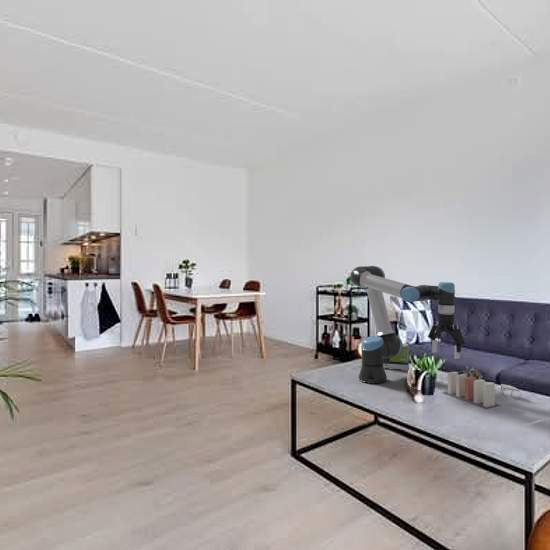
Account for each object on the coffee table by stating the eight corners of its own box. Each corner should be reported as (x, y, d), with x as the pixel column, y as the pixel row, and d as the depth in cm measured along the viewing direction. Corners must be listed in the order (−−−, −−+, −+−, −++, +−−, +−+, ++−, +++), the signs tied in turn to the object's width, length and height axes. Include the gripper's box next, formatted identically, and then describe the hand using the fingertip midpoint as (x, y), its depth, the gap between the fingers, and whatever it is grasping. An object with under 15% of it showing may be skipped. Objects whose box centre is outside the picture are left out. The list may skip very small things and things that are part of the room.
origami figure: (492, 396, 193) (492, 385, 193) (502, 392, 198) (502, 382, 197) (518, 403, 183) (518, 392, 183) (528, 399, 187) (528, 389, 187)
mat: (441, 393, 198) (441, 392, 198) (456, 390, 202) (456, 389, 202) (486, 410, 175) (486, 409, 175) (501, 406, 179) (501, 405, 179)
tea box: (409, 367, 248) (409, 343, 247) (407, 371, 239) (407, 346, 238) (384, 365, 254) (384, 341, 253) (381, 369, 245) (381, 344, 244)
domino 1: (447, 392, 197) (447, 372, 197) (455, 391, 199) (455, 371, 199) (450, 393, 196) (450, 373, 195) (458, 392, 198) (458, 372, 197)
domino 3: (475, 398, 189) (475, 377, 188) (467, 400, 187) (467, 378, 186) (472, 397, 190) (472, 376, 190) (464, 399, 188) (464, 377, 188)
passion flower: (476, 397, 207) (473, 382, 201) (456, 388, 216) (453, 373, 210) (487, 382, 212) (484, 366, 206) (467, 374, 220) (464, 359, 214)
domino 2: (456, 395, 193) (455, 375, 192) (463, 394, 195) (463, 373, 194) (459, 396, 191) (458, 376, 191) (466, 395, 193) (466, 374, 193)
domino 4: (473, 402, 184) (473, 380, 183) (481, 400, 186) (481, 379, 185) (477, 403, 182) (477, 381, 182) (484, 401, 184) (484, 380, 184)
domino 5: (483, 405, 179) (483, 383, 179) (491, 404, 181) (491, 382, 181) (486, 407, 177) (486, 384, 177) (494, 405, 179) (494, 383, 179)
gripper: (421, 310, 209) (420, 350, 210) (462, 317, 187) (461, 362, 188) (431, 309, 213) (430, 349, 214) (473, 316, 191) (472, 360, 192)
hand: (445, 355), depth 201 cm, fingers open, 13 cm apart
